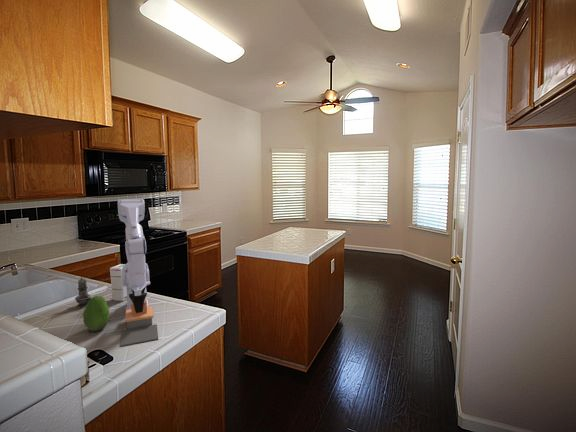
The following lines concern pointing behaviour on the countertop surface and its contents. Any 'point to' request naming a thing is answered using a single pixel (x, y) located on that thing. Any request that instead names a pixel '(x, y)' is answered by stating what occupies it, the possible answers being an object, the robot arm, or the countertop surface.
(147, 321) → the box
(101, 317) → the avocado
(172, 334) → the countertop surface
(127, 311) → the lid
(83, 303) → the candlestick holder
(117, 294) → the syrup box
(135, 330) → the mat
